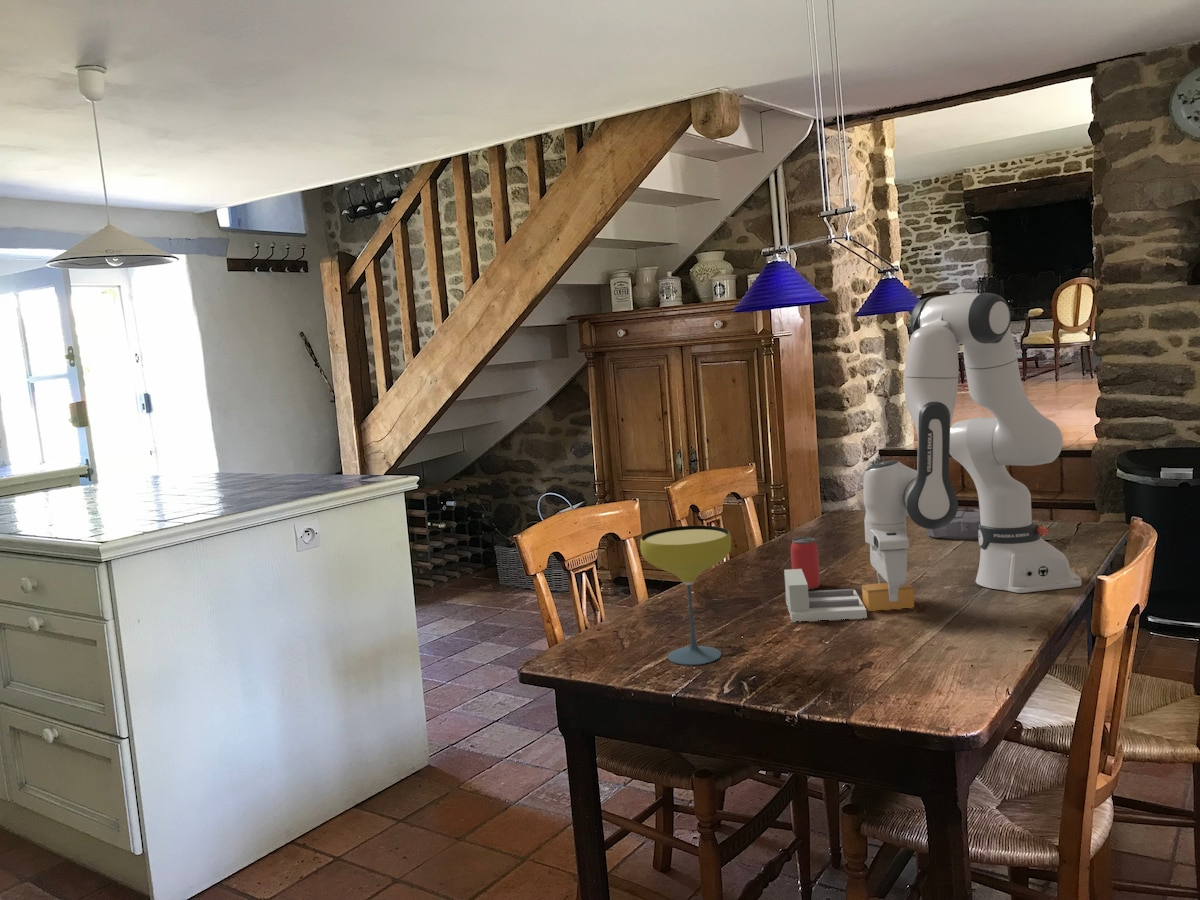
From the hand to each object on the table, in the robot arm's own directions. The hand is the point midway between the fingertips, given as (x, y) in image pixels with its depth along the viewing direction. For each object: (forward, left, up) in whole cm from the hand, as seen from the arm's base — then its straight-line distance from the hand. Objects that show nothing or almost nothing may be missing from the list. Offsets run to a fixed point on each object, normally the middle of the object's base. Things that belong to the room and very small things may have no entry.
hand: (888, 595), depth 209 cm
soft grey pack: (-33, -67, -3) cm, 75 cm away
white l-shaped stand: (+14, -1, -3) cm, 14 cm away
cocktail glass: (+43, +26, -3) cm, 50 cm away
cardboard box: (0, -1, -3) cm, 3 cm away
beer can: (+16, -21, -3) cm, 27 cm away
